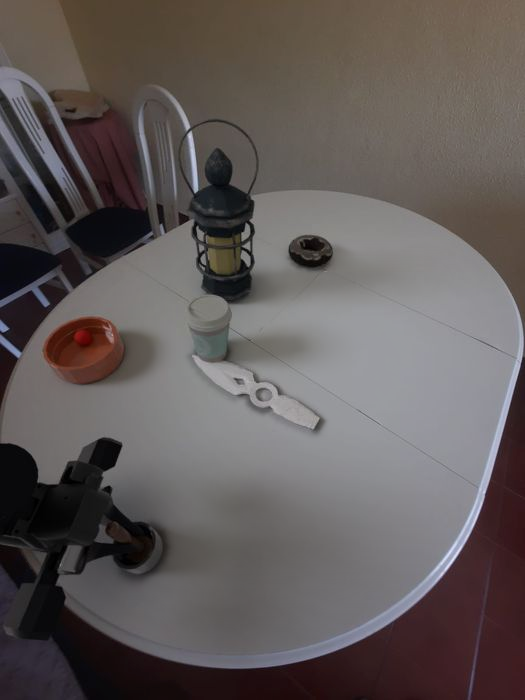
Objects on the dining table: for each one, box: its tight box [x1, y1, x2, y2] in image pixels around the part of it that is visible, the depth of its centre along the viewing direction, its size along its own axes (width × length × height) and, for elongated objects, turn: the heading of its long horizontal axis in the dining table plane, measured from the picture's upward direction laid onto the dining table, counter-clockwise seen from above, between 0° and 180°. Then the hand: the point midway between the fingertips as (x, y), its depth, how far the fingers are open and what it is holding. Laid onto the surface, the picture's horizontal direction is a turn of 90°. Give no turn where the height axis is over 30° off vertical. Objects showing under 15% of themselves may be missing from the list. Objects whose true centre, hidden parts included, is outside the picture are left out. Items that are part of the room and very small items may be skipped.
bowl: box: [42, 315, 125, 385], centre depth 66 cm, size 13×13×5 cm
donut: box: [287, 234, 334, 269], centre depth 89 cm, size 12×12×4 cm
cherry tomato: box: [74, 330, 92, 346], centre depth 68 cm, size 3×3×3 cm
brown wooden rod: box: [104, 522, 152, 564], centre depth 41 cm, size 3×3×13 cm
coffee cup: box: [184, 294, 233, 363], centre depth 65 cm, size 8×8×12 cm
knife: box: [191, 354, 320, 430], centre depth 64 cm, size 6×28×1 cm, turn 58°
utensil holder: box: [111, 520, 164, 575], centre depth 45 cm, size 5×5×4 cm
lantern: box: [177, 118, 259, 301], centre depth 68 cm, size 14×13×35 cm
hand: (139, 541), depth 41 cm, fingers closed on brown wooden rod
